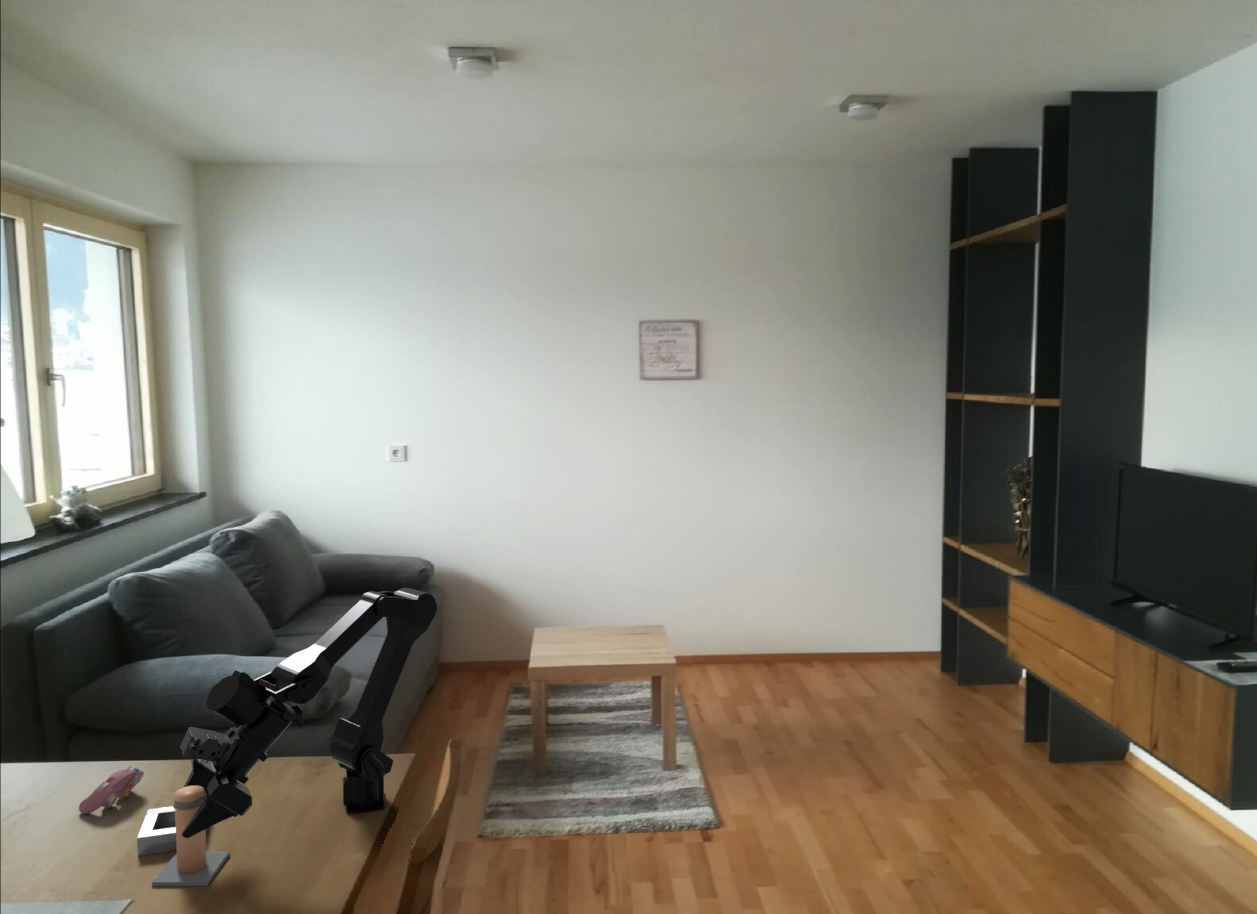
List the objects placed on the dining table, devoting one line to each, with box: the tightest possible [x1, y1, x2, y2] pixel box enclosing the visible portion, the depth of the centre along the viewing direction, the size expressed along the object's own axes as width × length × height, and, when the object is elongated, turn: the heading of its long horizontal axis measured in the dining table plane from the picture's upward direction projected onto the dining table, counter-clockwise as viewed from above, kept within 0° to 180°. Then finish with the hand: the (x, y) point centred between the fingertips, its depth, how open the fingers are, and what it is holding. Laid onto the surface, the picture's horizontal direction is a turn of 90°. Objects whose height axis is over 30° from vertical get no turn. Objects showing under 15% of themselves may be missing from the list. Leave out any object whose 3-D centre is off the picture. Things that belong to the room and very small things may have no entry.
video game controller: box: [78, 765, 145, 815], centre depth 151 cm, size 10×5×7 cm, turn 169°
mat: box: [151, 851, 230, 887], centre depth 132 cm, size 8×8×1 cm
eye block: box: [136, 805, 207, 857], centre depth 141 cm, size 9×9×3 cm
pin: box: [173, 785, 207, 874], centre depth 131 cm, size 4×4×12 cm
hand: (179, 822), depth 130 cm, fingers open, 9 cm apart
